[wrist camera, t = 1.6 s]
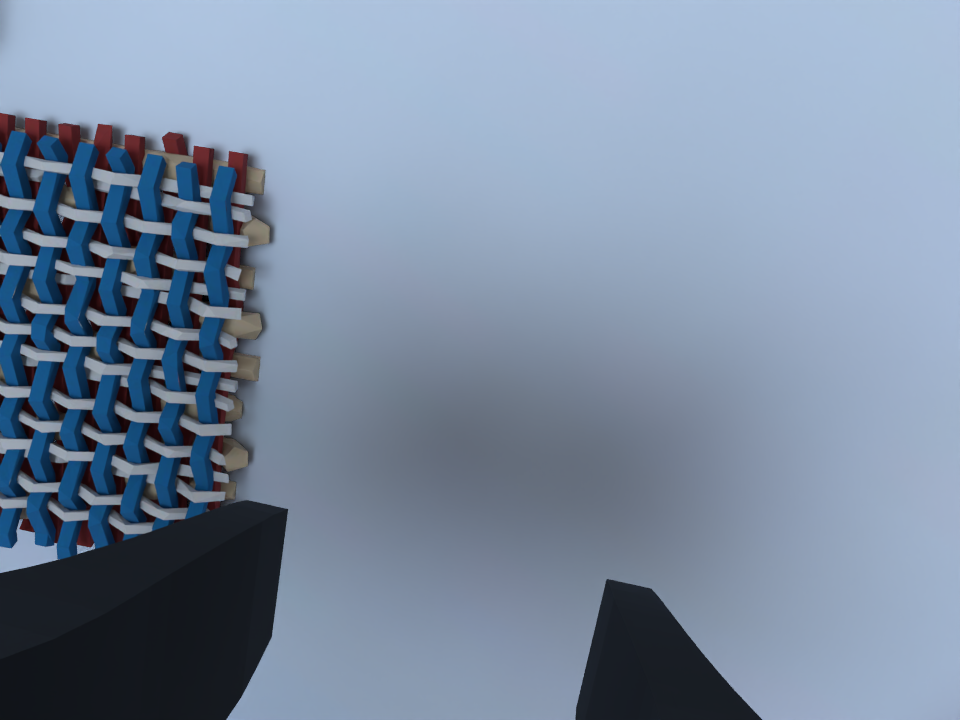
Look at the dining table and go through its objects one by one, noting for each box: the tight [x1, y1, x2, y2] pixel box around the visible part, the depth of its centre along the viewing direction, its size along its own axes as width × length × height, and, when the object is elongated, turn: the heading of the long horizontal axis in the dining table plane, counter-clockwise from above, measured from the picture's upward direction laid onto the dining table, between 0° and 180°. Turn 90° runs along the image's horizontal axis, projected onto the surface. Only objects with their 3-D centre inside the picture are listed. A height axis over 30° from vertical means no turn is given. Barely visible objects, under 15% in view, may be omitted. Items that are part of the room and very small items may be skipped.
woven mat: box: [0, 113, 270, 559], centre depth 20 cm, size 10×11×2 cm
